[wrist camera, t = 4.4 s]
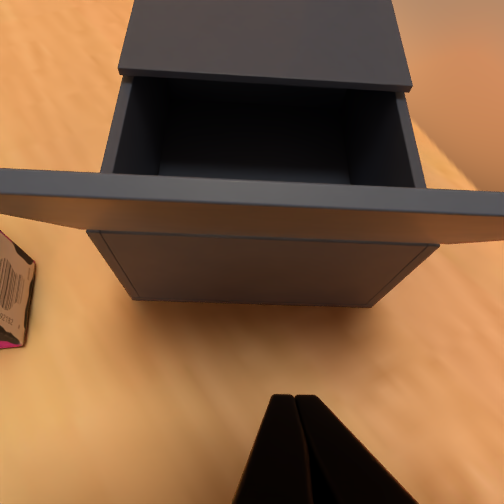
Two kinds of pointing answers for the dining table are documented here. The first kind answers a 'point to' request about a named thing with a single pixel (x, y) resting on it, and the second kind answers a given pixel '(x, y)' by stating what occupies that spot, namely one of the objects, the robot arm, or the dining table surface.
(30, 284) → the candy bar box
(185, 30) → the carton
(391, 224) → the flap
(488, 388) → the dining table surface
